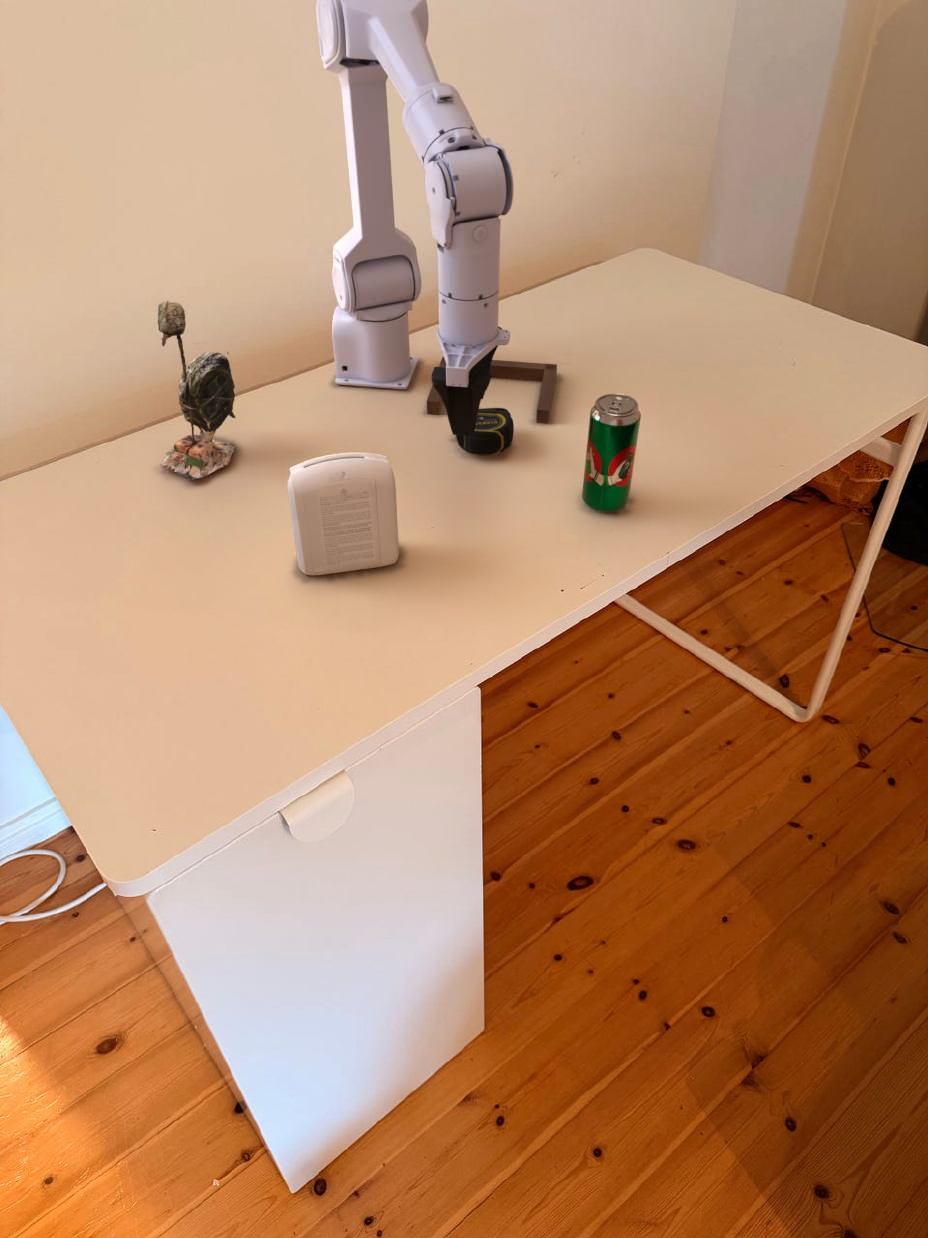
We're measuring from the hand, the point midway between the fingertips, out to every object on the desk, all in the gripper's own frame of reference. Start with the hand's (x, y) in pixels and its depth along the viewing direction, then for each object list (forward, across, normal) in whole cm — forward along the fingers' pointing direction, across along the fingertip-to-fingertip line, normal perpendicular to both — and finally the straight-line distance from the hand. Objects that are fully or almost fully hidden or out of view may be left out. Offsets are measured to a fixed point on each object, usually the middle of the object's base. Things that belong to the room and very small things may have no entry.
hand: (468, 414), depth 97 cm
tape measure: (+10, +10, 0) cm, 14 cm away
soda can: (+10, 0, -15) cm, 18 cm away
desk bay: (+9, +20, 0) cm, 22 cm away
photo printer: (+10, -14, +10) cm, 20 cm away
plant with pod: (+10, +2, +31) cm, 33 cm away
